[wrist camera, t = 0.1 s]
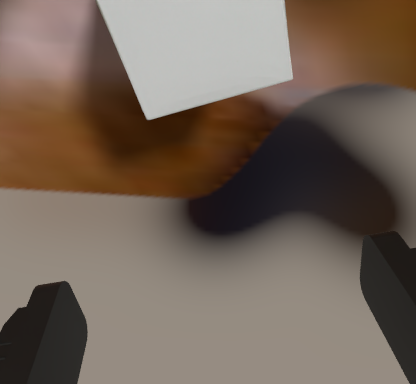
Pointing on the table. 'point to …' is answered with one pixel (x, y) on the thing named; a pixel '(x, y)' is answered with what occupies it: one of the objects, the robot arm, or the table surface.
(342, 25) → the table surface
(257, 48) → the supplement box
